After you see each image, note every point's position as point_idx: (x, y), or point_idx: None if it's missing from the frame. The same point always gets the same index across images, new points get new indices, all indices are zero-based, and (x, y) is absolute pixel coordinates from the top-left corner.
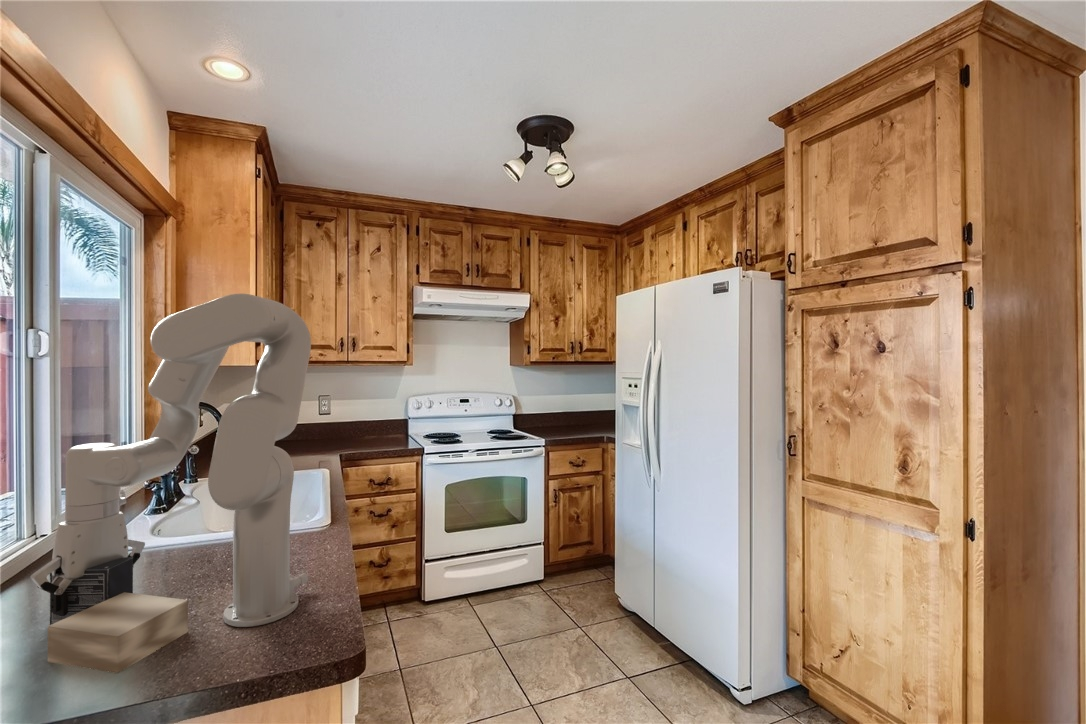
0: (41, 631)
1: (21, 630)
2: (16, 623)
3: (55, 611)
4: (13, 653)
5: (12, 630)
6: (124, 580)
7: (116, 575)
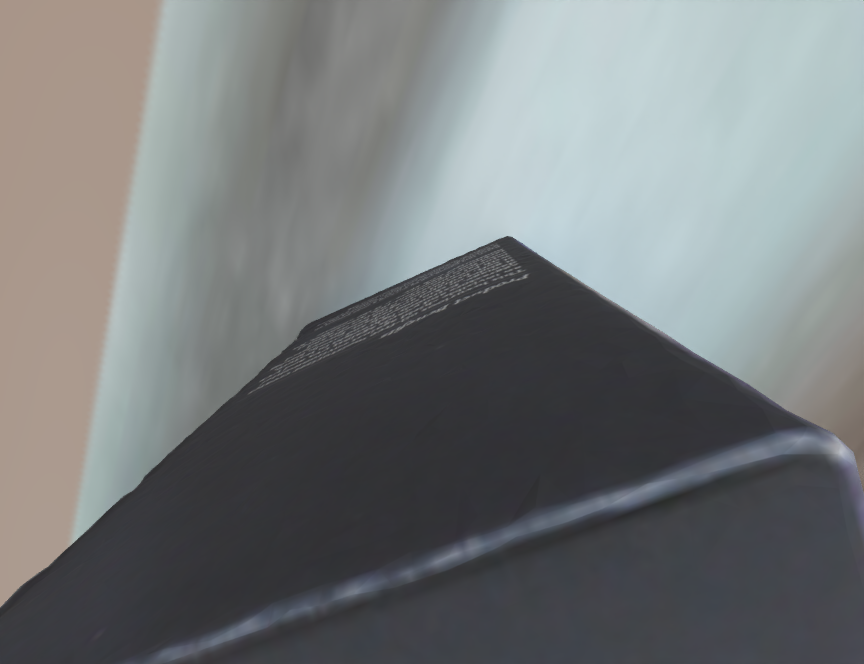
0: (260, 339)
1: (196, 196)
2: (208, 9)
3: None
4: (101, 479)
5: (161, 133)
6: None
7: None
